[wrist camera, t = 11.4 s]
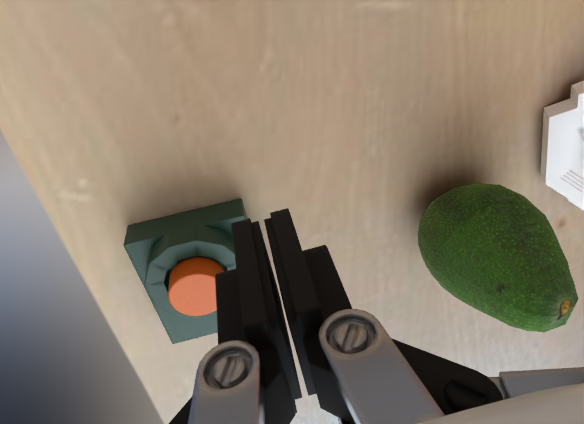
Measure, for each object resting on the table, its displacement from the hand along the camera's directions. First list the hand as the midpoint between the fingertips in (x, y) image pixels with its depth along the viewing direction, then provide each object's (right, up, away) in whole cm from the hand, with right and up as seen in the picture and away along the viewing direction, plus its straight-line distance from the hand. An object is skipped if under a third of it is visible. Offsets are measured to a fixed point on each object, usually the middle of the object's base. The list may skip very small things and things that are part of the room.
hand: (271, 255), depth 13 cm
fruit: (+13, +2, +22) cm, 25 cm away
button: (-6, -3, +16) cm, 17 cm away
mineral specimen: (+24, +7, +21) cm, 33 cm away
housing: (-6, -3, +20) cm, 21 cm away
